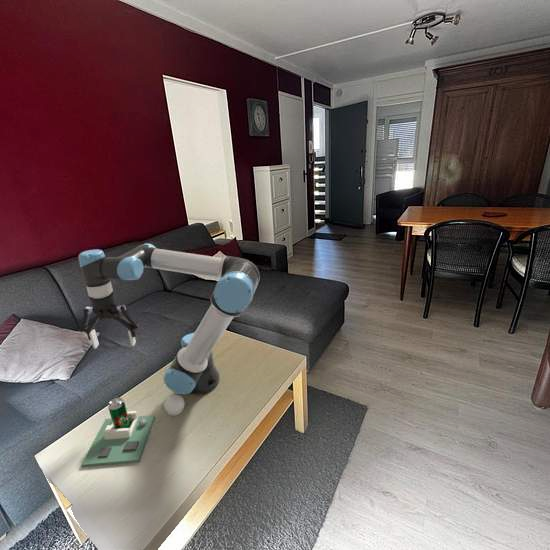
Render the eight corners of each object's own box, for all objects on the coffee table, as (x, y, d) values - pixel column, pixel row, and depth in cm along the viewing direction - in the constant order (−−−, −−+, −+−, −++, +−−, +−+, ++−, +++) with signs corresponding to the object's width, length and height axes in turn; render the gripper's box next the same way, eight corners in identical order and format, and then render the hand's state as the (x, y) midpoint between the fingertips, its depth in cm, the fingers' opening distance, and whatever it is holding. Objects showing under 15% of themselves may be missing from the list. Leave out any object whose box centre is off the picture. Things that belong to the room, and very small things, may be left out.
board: (155, 417, 115) (153, 408, 113) (139, 462, 98) (136, 452, 96) (106, 421, 114) (103, 411, 112) (81, 467, 97) (77, 457, 95)
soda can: (118, 422, 111) (111, 397, 107) (132, 421, 112) (125, 396, 107) (112, 434, 107) (104, 408, 102) (127, 432, 107) (120, 407, 103)
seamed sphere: (188, 405, 120) (185, 390, 117) (181, 420, 113) (179, 405, 110) (164, 404, 121) (160, 389, 118) (156, 419, 114) (152, 404, 111)
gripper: (141, 287, 109) (152, 337, 117) (70, 291, 108) (85, 341, 116) (134, 296, 102) (146, 348, 110) (57, 301, 101) (75, 353, 109)
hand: (115, 345), depth 113 cm, fingers open, 13 cm apart
